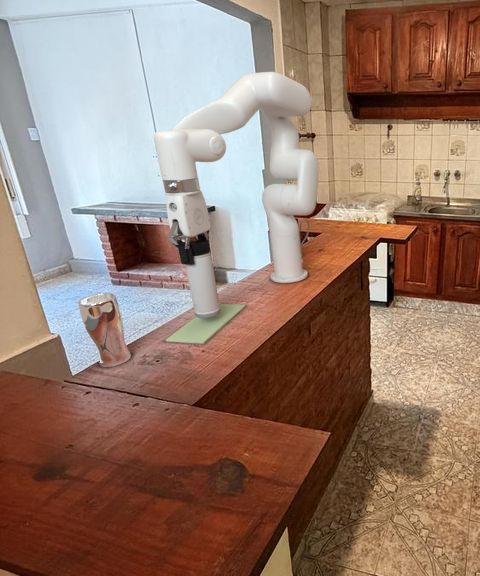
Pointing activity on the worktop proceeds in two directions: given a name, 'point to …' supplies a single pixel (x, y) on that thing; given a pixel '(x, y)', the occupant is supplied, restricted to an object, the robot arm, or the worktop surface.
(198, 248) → the travel mug
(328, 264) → the worktop surface
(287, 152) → the robot arm
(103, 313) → the beer glass
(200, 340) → the sage mat
